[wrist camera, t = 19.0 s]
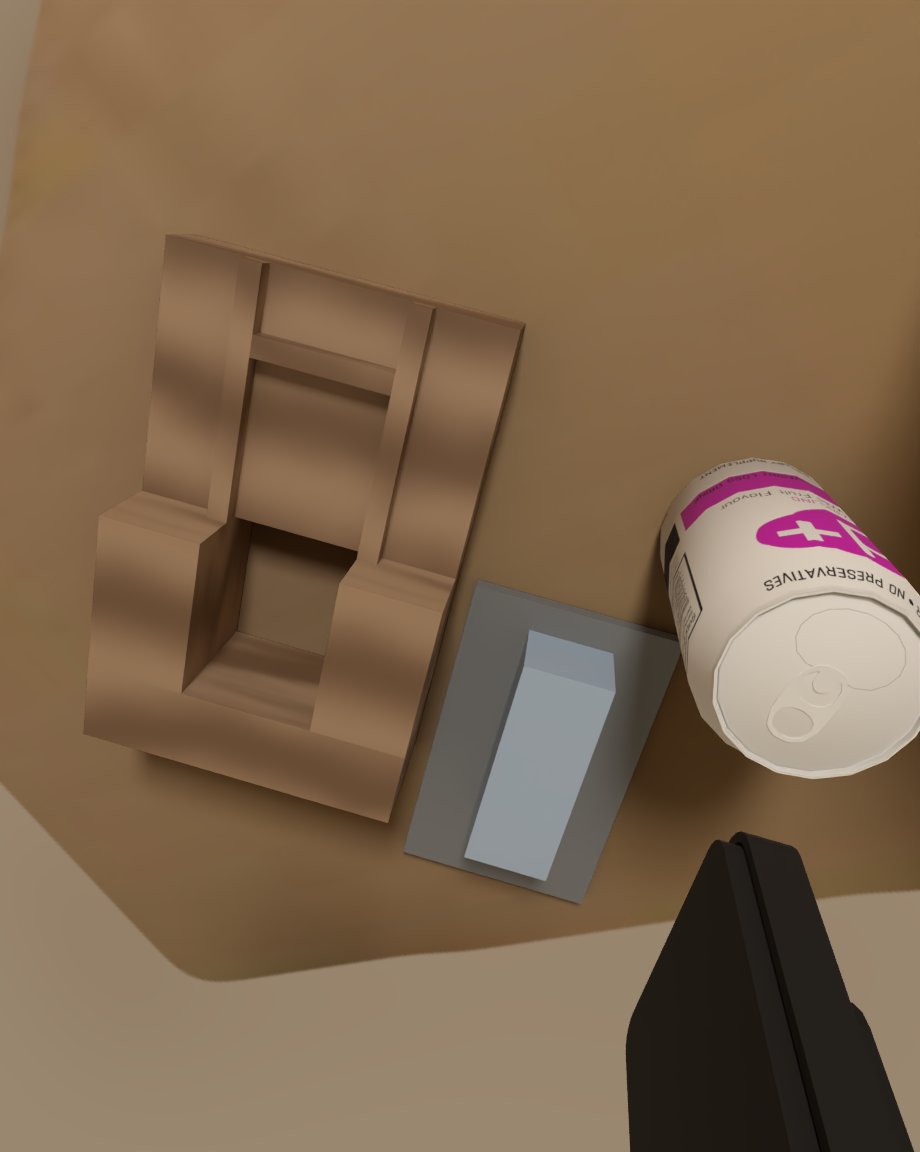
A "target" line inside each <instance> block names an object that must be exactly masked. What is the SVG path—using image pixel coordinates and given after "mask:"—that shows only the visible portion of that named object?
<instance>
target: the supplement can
mask: <svg viewBox="0 0 920 1152" xmlns="http://www.w3.org/2000/svg"><path fill="white" fill-rule="evenodd" d="M660 559H661V563H662V568H663V572H664V576H665V581H666V585H667V590H668V594H669V599H670V603H671V608H672V612H673V617H674V621H675V625H676V630H677V634H678V639H679V643H680V648H681V652H682V657H683V661H684V666H685V670H686V674H687V679H688V683H689V686H690V689H691V691H692V694H693V697H694V699H695V702H696V705H697V707H698V710H699V713H700V715H701V717H702V718H703V719H704V720H705V721H706V723H707V724H708V725H709V726H710V727H711V728H712V729H713V730H714V731H715V732H716V733H717V734H718V735H719V737H720V738H721V739H722V740H723V741H724V742H725V743H726V744H728V745H730V746H732V747H733V748H735V749H737V750H739V751H741V752H742V753H743V754H744V755H745V756H746V757H747V758H749V759H751V760H753V761H755V762H757V763H759V764H761V765H763V766H765V767H767V768H769V769H771V770H772V771H774V772H776V773H781V774H787V775H793V776H798V777H804V778H810V779H818V778H828V777H837V776H846V775H852V774H855V773H857V772H860V771H862V770H865V769H867V768H870V767H872V766H874V765H877V764H879V763H882V762H884V761H887V760H888V759H889V758H890V757H892V756H893V755H894V754H895V753H897V752H898V751H899V750H900V749H902V748H903V747H904V746H905V745H907V744H908V743H909V742H910V741H911V740H913V739H914V738H915V737H916V736H917V734H918V732H919V731H920V595H919V594H918V593H917V592H916V591H915V589H914V588H913V587H912V586H911V584H910V583H909V582H908V581H907V580H906V579H905V578H904V576H903V575H902V574H901V573H900V572H899V571H898V570H897V569H896V568H895V567H894V566H893V565H892V564H891V562H890V561H889V560H888V559H887V558H886V557H885V556H884V555H883V554H882V553H881V552H880V551H879V549H878V548H877V547H876V546H875V545H874V544H873V543H872V542H871V541H870V540H869V539H868V538H867V536H866V535H865V534H864V533H863V532H862V531H861V530H860V529H859V528H858V527H857V526H856V525H855V523H854V522H853V521H852V520H851V519H850V518H849V517H848V516H847V515H846V514H845V513H844V512H843V510H842V509H841V508H840V507H839V506H838V505H837V504H836V503H835V502H834V501H833V500H832V499H831V498H830V496H829V495H828V494H827V493H826V492H825V491H824V490H823V489H822V488H821V487H820V486H819V485H818V483H817V482H816V481H815V480H814V479H813V478H812V477H811V476H809V475H807V474H805V473H803V472H802V471H800V470H798V469H796V468H794V467H792V466H790V465H789V464H787V463H785V462H779V461H772V460H765V459H758V458H749V459H744V460H738V461H733V462H728V463H722V464H720V465H718V466H716V467H714V468H712V469H711V470H709V471H707V472H705V473H703V474H701V475H700V476H698V477H696V478H694V479H693V480H692V481H691V482H690V483H689V484H688V485H687V486H686V487H685V488H684V490H683V491H682V492H681V493H680V494H679V495H678V496H677V497H676V498H675V499H674V500H673V501H672V503H671V506H670V508H669V511H668V513H667V515H666V518H665V520H664V522H663V525H662V527H661V540H660Z"/></svg>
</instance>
